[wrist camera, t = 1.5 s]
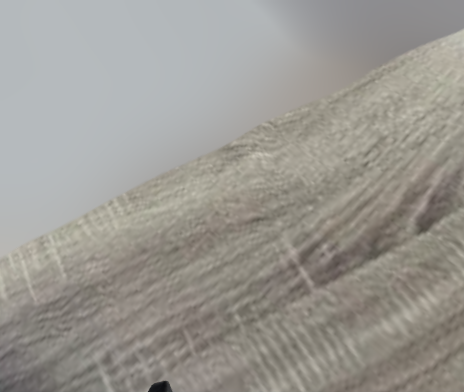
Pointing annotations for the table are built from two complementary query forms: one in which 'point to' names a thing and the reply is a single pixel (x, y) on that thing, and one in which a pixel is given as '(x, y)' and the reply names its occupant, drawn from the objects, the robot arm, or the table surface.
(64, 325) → the table surface
